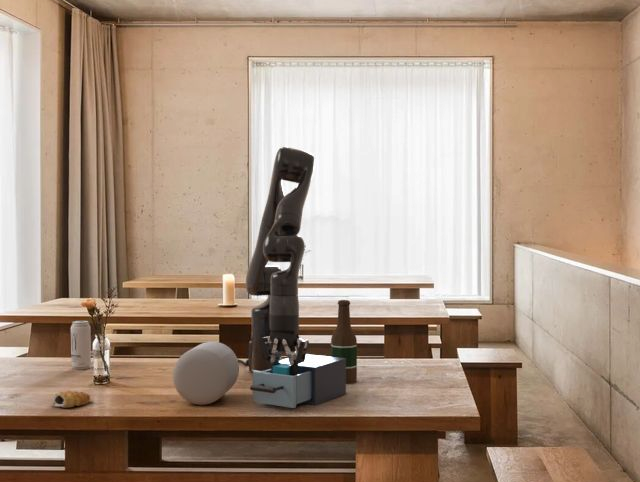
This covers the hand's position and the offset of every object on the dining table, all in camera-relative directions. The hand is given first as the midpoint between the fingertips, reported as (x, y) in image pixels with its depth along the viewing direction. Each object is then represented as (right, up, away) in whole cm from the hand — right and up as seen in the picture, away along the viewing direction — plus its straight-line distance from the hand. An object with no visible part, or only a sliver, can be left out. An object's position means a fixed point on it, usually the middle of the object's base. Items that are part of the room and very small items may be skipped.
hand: (284, 377), depth 214 cm
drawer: (0, -6, 0) cm, 6 cm away
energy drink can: (-68, -4, +51) cm, 85 cm away
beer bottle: (+16, -5, +31) cm, 35 cm away
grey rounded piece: (-22, -7, +10) cm, 25 cm away
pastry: (-55, -7, 0) cm, 56 cm away
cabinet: (+6, -6, +11) cm, 14 cm away
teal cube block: (0, -1, 0) cm, 1 cm away
